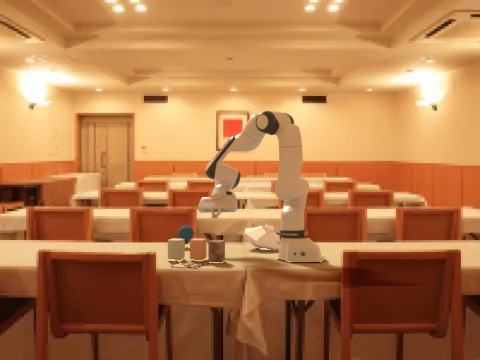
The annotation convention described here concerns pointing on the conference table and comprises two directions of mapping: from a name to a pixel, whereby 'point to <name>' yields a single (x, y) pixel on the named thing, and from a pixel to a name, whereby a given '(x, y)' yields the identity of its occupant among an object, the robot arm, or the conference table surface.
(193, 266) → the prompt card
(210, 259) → the walnut block
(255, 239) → the paper
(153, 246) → the conference table surface
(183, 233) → the light bulb
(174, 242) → the sage block
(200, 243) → the terracotta block
